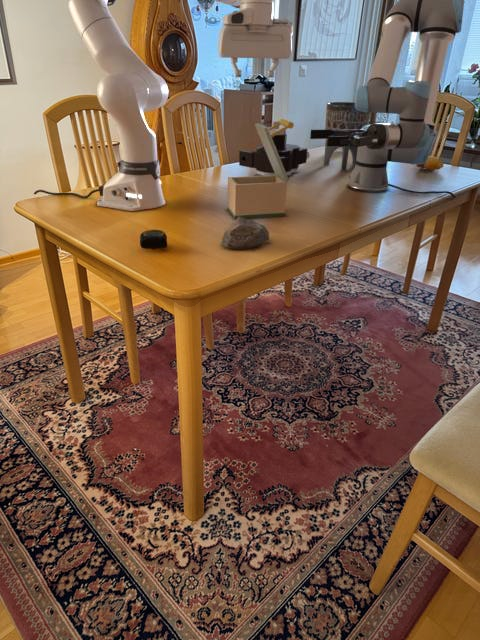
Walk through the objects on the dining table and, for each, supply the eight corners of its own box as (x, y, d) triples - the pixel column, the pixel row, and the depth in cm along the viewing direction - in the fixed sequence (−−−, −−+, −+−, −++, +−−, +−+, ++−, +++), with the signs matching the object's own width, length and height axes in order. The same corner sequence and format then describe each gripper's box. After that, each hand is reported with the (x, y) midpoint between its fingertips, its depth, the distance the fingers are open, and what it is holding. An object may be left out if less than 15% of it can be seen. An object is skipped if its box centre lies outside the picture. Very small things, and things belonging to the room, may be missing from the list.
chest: (235, 219, 140) (235, 184, 135) (227, 209, 149) (227, 177, 143) (284, 216, 144) (287, 182, 139) (274, 207, 152) (276, 175, 147)
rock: (255, 233, 128) (256, 211, 124) (276, 242, 122) (278, 219, 119) (217, 244, 120) (217, 220, 117) (239, 254, 115) (239, 230, 111)
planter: (313, 167, 208) (319, 103, 195) (331, 160, 222) (338, 101, 209) (353, 173, 199) (362, 107, 185) (369, 166, 213) (379, 104, 199)
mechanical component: (240, 120, 182) (283, 115, 202) (239, 174, 192) (280, 164, 212) (283, 126, 170) (325, 120, 190) (280, 183, 180) (320, 171, 200)
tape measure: (140, 252, 115) (139, 238, 113) (141, 242, 120) (140, 229, 119) (167, 251, 116) (166, 237, 114) (167, 241, 121) (166, 228, 120)
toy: (417, 163, 202) (411, 156, 215) (419, 177, 205) (413, 169, 218) (444, 155, 199) (436, 148, 211) (446, 170, 202) (438, 162, 214)
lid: (264, 129, 129) (290, 113, 129) (254, 124, 138) (279, 110, 137) (285, 181, 138) (310, 167, 138) (275, 174, 147) (298, 160, 147)
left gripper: (289, 20, 124) (286, 77, 131) (216, 17, 120) (217, 76, 127) (297, 18, 119) (293, 78, 126) (221, 15, 115) (221, 77, 122)
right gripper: (365, 118, 152) (305, 119, 148) (405, 129, 131) (337, 130, 127) (361, 142, 156) (303, 143, 152) (399, 156, 135) (334, 158, 131)
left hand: (254, 77), depth 127 cm, fingers open, 8 cm apart
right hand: (318, 137), depth 139 cm, fingers open, 13 cm apart
